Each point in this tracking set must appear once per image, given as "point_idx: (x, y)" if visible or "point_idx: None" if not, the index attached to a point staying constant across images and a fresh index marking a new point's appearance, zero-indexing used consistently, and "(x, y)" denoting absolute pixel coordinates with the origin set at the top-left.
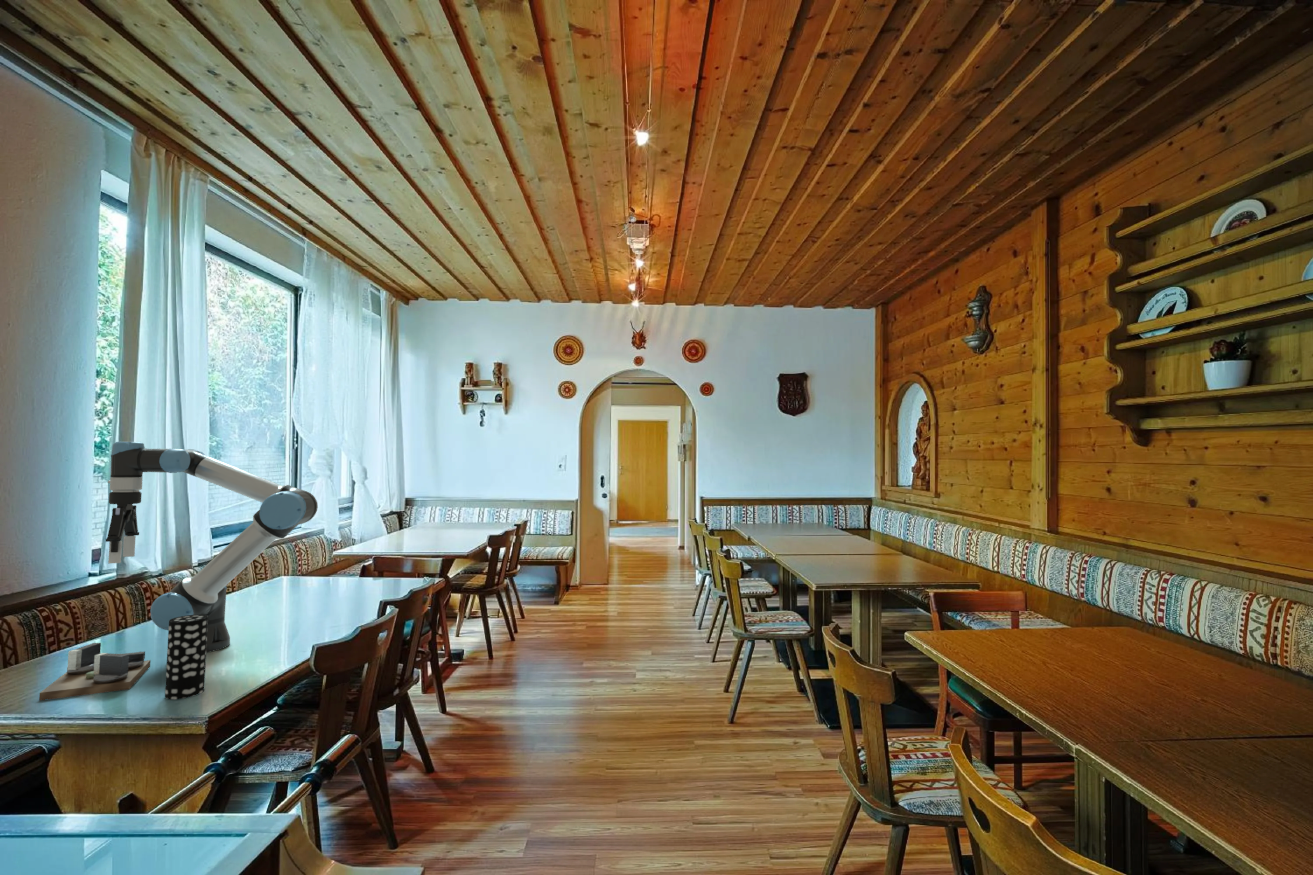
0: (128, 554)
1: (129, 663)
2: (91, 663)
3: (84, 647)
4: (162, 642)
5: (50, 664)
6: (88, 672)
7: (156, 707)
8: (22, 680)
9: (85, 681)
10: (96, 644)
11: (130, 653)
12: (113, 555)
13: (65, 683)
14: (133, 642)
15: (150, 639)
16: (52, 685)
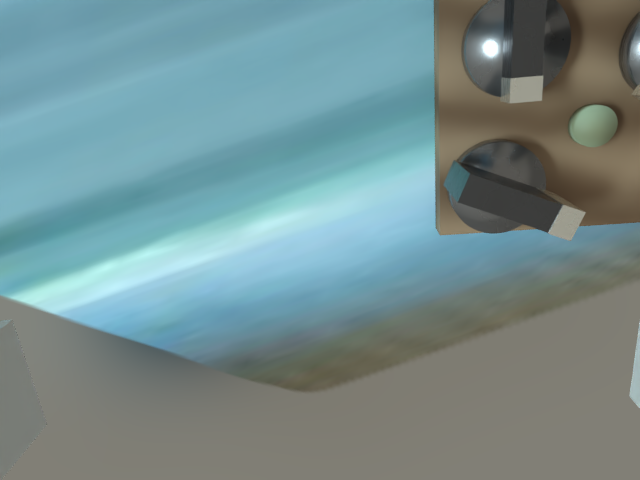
0: (11, 392)
1: (563, 26)
2: (491, 171)
3: (527, 207)
4: (69, 74)
5: (271, 330)
6: (585, 144)
7: None
8: (426, 334)
9: (637, 129)
10: (490, 181)
11: (523, 40)
12: None
13: (625, 183)
14: (49, 184)
15: (13, 137)
16: (628, 213)
